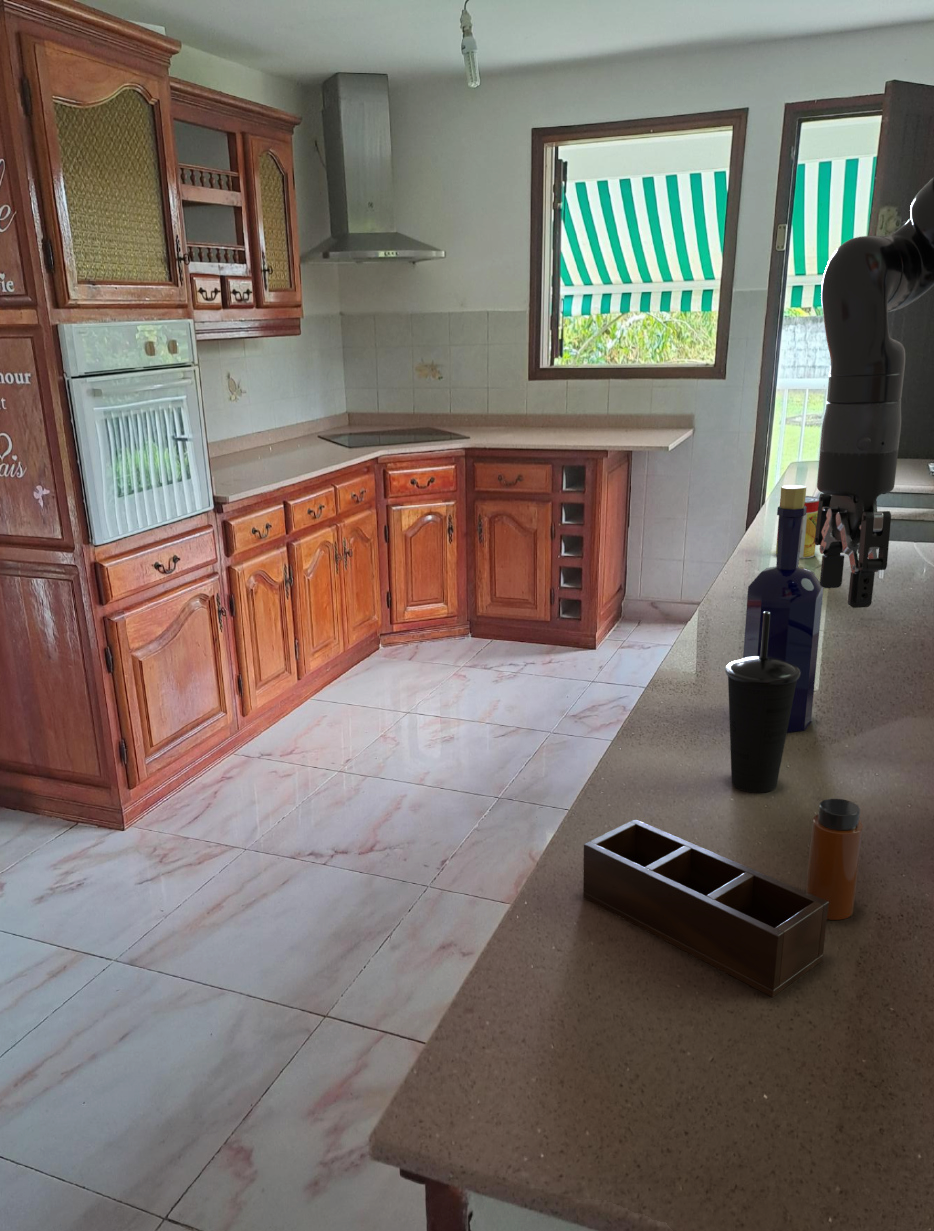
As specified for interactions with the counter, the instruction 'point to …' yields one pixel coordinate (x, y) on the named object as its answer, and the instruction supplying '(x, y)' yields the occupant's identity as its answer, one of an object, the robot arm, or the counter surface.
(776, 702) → the drinking cup
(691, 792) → the counter surface
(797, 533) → the bottle
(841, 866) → the spice bottle
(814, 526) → the canned food
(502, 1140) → the counter surface
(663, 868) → the holder
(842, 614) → the counter surface
